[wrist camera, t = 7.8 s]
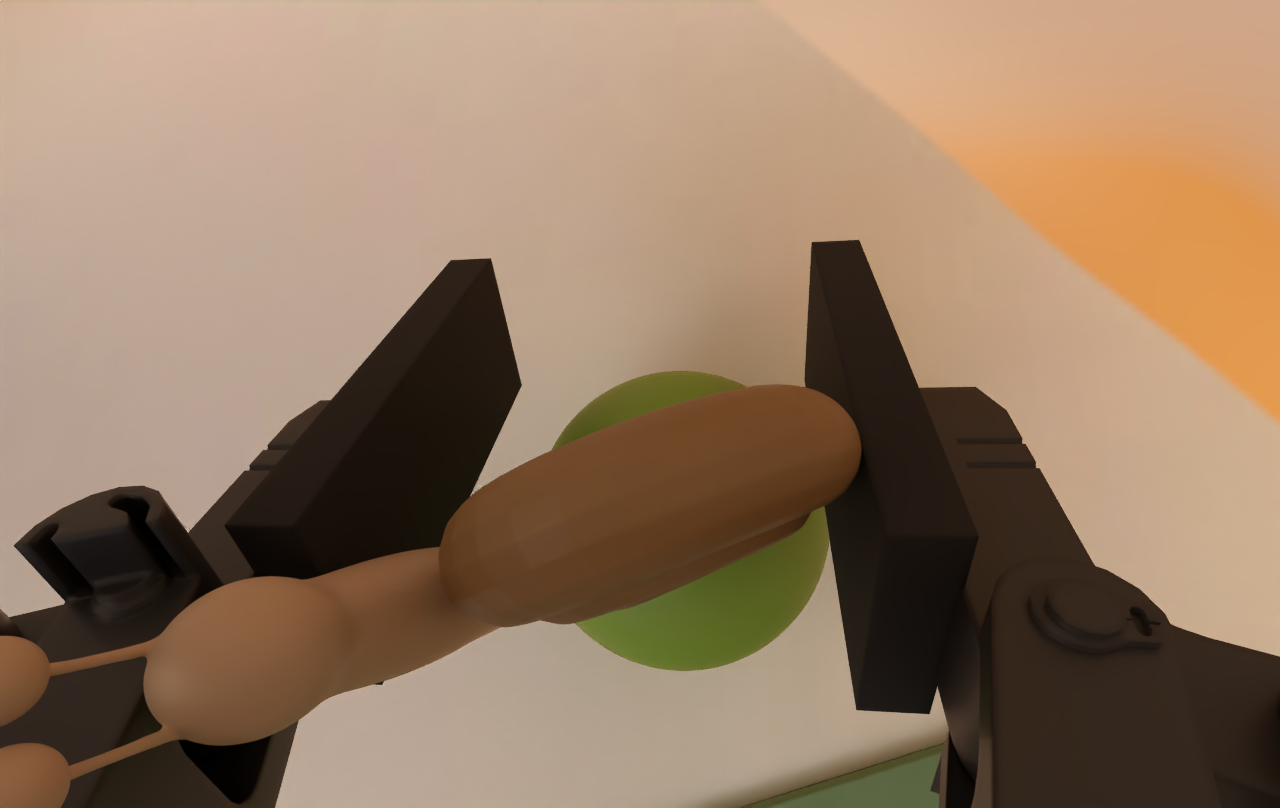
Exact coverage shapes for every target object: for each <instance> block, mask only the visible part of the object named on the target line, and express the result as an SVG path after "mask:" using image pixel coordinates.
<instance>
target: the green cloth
mask: <svg viewBox="0 0 1280 808" xmlns="http://www.w3.org/2000/svg"><path fill="white" fill-rule="evenodd" d="M944 744H945V743H944ZM944 744H941V745H938V746H935V747H932V748H928V749H925V750H922V751H919V752H916V753H913V754H909V755H906V756H903V757H900V758H897V759H894V760H890V761H887V762H884V763H881V764H878V765H875V766H872V767H868V768H865V769H862V770H859V771H856V772H853V773H849V774H846V775H843V776H840V777H837V778H834V779H830V780H827V781H824V782H821V783H818V784H815V785H812V786H808V787H805V788H802V789H799V790H796V791H793V792H789V793H786V794H783V795H780V796H777V797H774V798H770V799H767V800H764V801H761V802H758V803H755V804H752V805H748V806H745V807H742V808H939V794H938V793H935V792H932V791H930V789H931V786H932V783H933V779H934V776H935V773H936V770H937V766H938V763H939V760H940V757H941V754H942V751H943V748H944Z"/></svg>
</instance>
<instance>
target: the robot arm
mask: <svg viewBox="0 0 1280 808" xmlns="http://www.w3.org/2000/svg"><path fill="white" fill-rule="evenodd" d="M521 386H522V384H521V380H520V376H519V372H518V368H517V364H516V360H515V356H514V351H513V347H512V343H511V339H510V335H509V331H508V327H507V323H506V318H505V314H504V310H503V306H502V302H501V298H500V294H499V290H498V285H497V281H496V277H495V273H494V269H493V265H492V261H491V258H489V259H469V260H451V261H450V262H449V263H448V264H447V266H446V267H445V268H444V269H443V270H442V271H441V273H440V274H439V275H438V276H437V277H436V278H435V280H434V281H433V282H432V283H431V284H430V285H429V287H428V288H427V289H426V290H425V291H424V292H423V294H422V295H421V296H420V297H419V298H418V299H417V301H416V302H415V303H414V304H413V305H412V306H411V308H410V309H409V310H408V311H407V312H406V313H405V315H404V316H403V317H402V318H401V319H400V320H399V322H398V323H397V324H396V325H395V326H394V327H393V329H392V330H391V331H390V332H389V333H388V334H387V336H386V337H385V338H384V339H383V340H382V341H381V343H380V344H379V345H378V346H377V347H376V348H375V350H374V351H373V352H372V353H371V354H370V355H369V357H368V358H367V359H366V360H365V361H364V362H363V364H362V365H361V366H360V367H359V368H358V369H357V371H356V372H355V373H354V374H353V375H352V376H351V378H350V379H349V380H348V381H347V382H346V383H345V385H344V386H343V387H342V388H341V389H340V390H339V392H338V393H337V394H336V395H335V396H334V397H333V399H332V400H324V401H319V402H318V403H316V404H315V405H313V406H312V407H310V408H309V409H307V410H306V411H304V412H303V413H301V414H300V415H298V416H297V417H295V418H294V419H292V420H291V421H289V422H288V423H287V424H286V425H285V427H284V428H283V429H282V430H281V431H280V432H279V433H278V434H277V435H276V437H275V438H274V439H273V440H272V441H271V442H270V443H269V444H268V445H267V446H268V450H263V451H262V452H261V453H260V454H259V455H258V456H257V458H256V459H255V460H254V461H253V462H252V463H251V464H250V465H249V466H250V470H249V471H244V472H243V473H242V474H241V475H240V476H239V477H238V478H237V480H236V481H235V482H234V483H233V484H232V485H231V486H230V487H229V488H228V490H227V491H226V492H225V493H224V494H223V495H222V496H221V497H220V498H219V499H218V501H217V502H216V503H215V504H214V505H213V506H212V507H211V508H210V509H209V511H208V512H207V513H206V514H205V515H204V516H203V517H202V518H201V519H200V520H199V522H198V523H197V524H196V525H195V526H194V527H193V528H192V529H191V530H190V532H189V533H187V531H186V530H185V528H184V527H183V525H182V524H181V523H180V521H179V520H178V518H177V517H176V515H175V514H174V513H173V511H172V510H171V508H170V507H169V505H168V504H167V503H166V501H165V500H164V498H163V497H162V495H161V494H160V493H159V491H157V490H154V489H151V488H148V487H145V486H131V487H118V488H115V489H111V490H108V491H104V492H100V493H97V494H93V495H90V496H88V497H86V498H84V499H82V500H79V501H77V502H75V503H73V504H71V505H68V506H66V507H64V508H62V509H60V510H59V511H57V512H56V513H54V514H53V515H51V516H50V517H48V518H46V519H45V520H43V521H42V522H40V523H39V524H37V525H36V526H34V527H33V528H32V529H31V530H30V531H29V532H28V533H27V534H26V535H25V536H24V537H22V538H21V539H20V540H19V541H18V542H17V543H16V544H15V545H14V547H15V548H16V549H17V550H18V551H19V552H20V553H21V554H22V555H23V556H24V557H25V558H26V560H27V561H28V562H29V563H30V564H31V565H32V566H33V567H34V568H35V569H36V570H37V571H38V572H39V574H40V575H41V576H42V577H43V578H44V579H45V580H46V581H47V582H48V583H49V584H50V585H51V586H52V588H53V589H54V590H55V591H56V592H57V593H58V594H59V595H60V596H61V597H62V598H63V599H64V600H65V603H64V605H60V606H56V607H52V608H47V609H43V610H39V611H34V612H30V613H26V614H22V615H17V616H13V617H8V616H7V615H6V614H5V613H4V612H3V611H2V610H1V609H0V636H15V637H20V638H24V639H27V640H29V641H31V642H33V643H35V644H36V645H38V646H39V647H40V648H41V649H42V650H43V651H44V653H45V654H46V656H47V658H48V660H49V664H50V663H55V662H62V661H68V660H73V659H79V658H83V657H88V656H92V655H96V654H101V653H105V652H110V651H114V650H118V649H122V648H126V647H130V646H133V645H137V644H141V643H145V642H147V641H150V640H152V639H154V638H156V637H158V636H159V635H160V634H161V633H162V632H163V631H164V630H165V629H166V628H167V626H168V625H169V624H170V623H171V622H172V621H173V619H174V618H175V617H176V616H177V615H179V614H180V613H181V612H182V611H183V610H184V609H185V608H186V607H188V606H189V605H190V604H192V603H193V602H194V601H196V600H197V599H199V598H201V597H202V596H204V595H206V594H207V593H209V592H211V591H213V590H215V589H217V588H220V587H222V586H224V585H227V584H230V583H233V582H236V581H240V580H244V579H249V578H255V577H266V576H279V577H289V578H295V579H300V580H305V579H311V578H315V577H318V576H321V575H324V574H327V573H330V572H333V571H336V570H339V569H342V568H345V567H348V566H351V565H355V564H358V563H361V562H364V561H368V560H372V559H375V558H379V557H383V556H387V555H392V554H396V553H401V552H406V551H411V550H418V549H425V548H434V547H440V545H441V541H442V538H443V535H444V531H445V528H446V525H447V523H448V522H449V520H450V519H451V517H452V516H453V515H454V514H455V512H456V511H457V510H458V509H459V508H460V506H461V505H462V504H463V503H464V502H465V501H466V500H467V499H468V498H469V497H470V495H471V493H472V491H473V489H474V487H475V484H476V482H477V480H478V478H479V476H480V474H481V471H482V469H483V467H484V465H485V463H486V461H487V459H488V456H489V454H490V452H491V450H492V448H493V446H494V444H495V441H496V439H497V437H498V435H499V433H500V431H501V429H502V426H503V424H504V422H505V420H506V418H507V416H508V414H509V411H510V409H511V407H512V405H513V403H514V401H515V399H516V396H517V394H518V392H519V390H520V388H521ZM805 386H806V388H810V389H813V390H816V391H819V392H821V393H823V394H825V395H826V396H828V397H830V398H831V399H833V400H834V401H836V402H837V403H838V404H839V405H840V406H841V407H842V408H843V409H844V410H845V411H846V412H847V413H848V414H849V416H850V417H851V418H852V420H853V421H854V423H855V425H856V427H857V430H858V433H859V437H860V441H861V448H862V451H861V460H860V465H859V469H858V472H857V474H856V476H855V478H854V480H853V481H852V483H851V485H850V486H849V488H848V489H847V490H846V491H845V492H844V493H843V494H842V495H841V496H839V497H838V498H837V499H835V500H834V501H832V502H831V503H829V504H827V505H825V506H824V507H825V513H826V519H827V526H828V532H829V539H830V545H831V551H832V558H833V564H834V570H835V577H836V583H837V590H838V596H839V602H840V609H841V615H842V621H843V628H844V634H845V640H846V647H847V653H848V660H849V666H850V672H851V679H852V685H853V691H854V698H855V704H856V710H864V711H882V712H901V713H919V714H930V711H931V707H932V704H933V700H934V696H935V693H936V689H937V686H938V690H939V694H940V697H941V701H942V705H943V708H944V712H945V716H946V720H947V723H948V727H949V732H948V735H947V738H946V741H945V744H944V748H943V751H942V754H941V757H940V760H939V763H938V766H937V770H936V773H935V776H934V779H933V783H932V786H931V789H930V791H932V792H935V793H938V794H939V808H1280V657H1279V656H1275V655H1271V654H1267V653H1264V652H1260V651H1256V650H1252V649H1249V648H1245V647H1241V646H1237V645H1234V644H1230V643H1226V642H1222V641H1219V640H1215V639H1211V638H1207V637H1204V636H1201V635H1199V634H1196V633H1193V632H1190V631H1187V630H1184V629H1181V628H1178V627H1176V626H1173V625H1171V624H1170V623H1169V621H1168V619H1167V617H1166V615H1165V613H1164V612H1163V611H1162V610H1161V609H1160V608H1159V607H1158V606H1156V605H1155V604H1154V603H1153V602H1152V601H1151V600H1150V599H1149V598H1148V597H1147V596H1146V595H1145V594H1144V593H1143V592H1142V591H1141V590H1140V589H1139V588H1137V587H1135V586H1133V585H1132V584H1130V583H1128V582H1127V581H1125V580H1123V579H1121V578H1120V577H1118V576H1116V575H1114V574H1113V573H1111V572H1109V571H1108V570H1105V569H1102V568H1099V567H1096V566H1095V565H1094V563H1093V562H1092V560H1091V558H1090V557H1089V555H1088V553H1087V551H1086V550H1085V548H1084V546H1083V544H1082V543H1081V541H1080V539H1079V537H1078V536H1077V534H1076V532H1075V530H1074V529H1073V527H1072V525H1071V523H1070V521H1069V520H1068V518H1067V516H1066V514H1065V513H1064V511H1063V509H1062V507H1061V506H1060V504H1059V502H1058V500H1057V499H1056V497H1055V495H1054V493H1053V492H1052V490H1051V488H1050V486H1049V484H1048V483H1047V481H1046V479H1045V477H1044V476H1043V474H1042V472H1041V470H1040V469H1039V468H1036V465H1035V464H1036V462H1035V460H1034V458H1033V456H1032V455H1031V453H1030V451H1029V449H1028V447H1027V446H1026V444H1022V437H1021V435H1020V433H1019V432H1018V430H1017V428H1016V426H1015V425H1014V423H1013V421H1012V419H1011V418H1010V416H1009V414H1008V412H1007V410H1005V409H1004V408H1003V407H1001V406H1000V405H999V404H997V403H996V402H995V401H994V400H992V399H991V398H990V397H988V396H987V395H986V394H984V393H983V392H982V391H980V390H979V389H978V388H976V387H945V388H919V387H918V384H917V382H916V379H915V377H914V374H913V372H912V369H911V367H910V365H909V362H908V360H907V357H906V355H905V352H904V350H903V347H902V345H901V342H900V340H899V337H898V335H897V332H896V330H895V327H894V325H893V322H892V320H891V318H890V315H889V313H888V310H887V308H886V305H885V303H884V300H883V298H882V295H881V293H880V290H879V288H878V285H877V283H876V280H875V278H874V275H873V273H872V271H871V268H870V266H869V263H868V261H867V258H866V256H865V253H864V251H863V248H862V246H861V243H860V241H859V240H848V241H828V242H812V247H811V266H810V285H809V304H808V323H807V342H806V362H805ZM146 666H147V658H146V657H143V656H142V657H137V658H134V659H130V660H125V661H120V662H115V663H110V664H106V665H101V666H97V667H93V668H88V669H83V670H79V671H74V672H70V673H65V674H61V675H57V676H52V677H50V678H49V682H48V685H47V687H46V689H45V691H44V693H43V695H42V696H41V698H40V699H39V700H38V702H37V703H36V704H35V705H34V706H33V707H32V708H31V709H30V710H29V711H27V712H26V713H25V714H23V715H22V716H21V717H19V718H18V719H16V720H14V721H12V722H10V723H8V724H6V725H4V726H1V727H0V748H3V747H6V746H9V745H14V744H19V743H39V744H44V745H47V746H50V747H52V748H54V749H55V750H57V751H58V752H60V753H61V754H62V755H63V757H64V758H65V759H66V761H67V763H68V765H69V766H71V765H73V764H76V763H79V762H82V761H85V760H87V759H90V758H93V757H96V756H98V755H101V754H104V753H106V752H108V751H111V750H113V749H116V748H119V747H122V746H124V745H127V744H129V743H131V742H134V741H136V740H138V739H141V738H143V737H145V736H147V735H150V734H153V733H156V732H158V731H160V730H161V729H162V725H161V724H160V723H159V722H158V721H157V720H156V719H155V717H154V716H153V715H152V713H151V711H150V710H149V708H148V705H147V703H146V700H145V695H144V686H143V682H144V673H145V669H146ZM383 682H384V681H382V682H379V683H376V685H382V684H383ZM298 721H299V720H298ZM298 721H296V722H295V723H293V724H292V725H290V726H288V727H286V728H285V729H283V730H281V731H279V732H277V733H275V734H272V735H270V736H267V737H265V738H262V739H259V740H256V741H252V742H248V743H243V744H236V745H224V746H218V745H206V744H200V743H196V742H192V741H189V740H184V739H183V740H174V741H170V742H167V743H164V744H161V745H159V746H156V747H153V748H151V749H148V750H145V751H142V752H140V753H137V754H135V755H132V756H129V757H127V758H124V759H122V760H119V761H117V762H114V763H111V764H109V765H106V766H104V767H101V768H98V769H96V770H93V771H91V772H89V773H86V774H84V775H82V776H80V777H77V778H75V779H72V780H71V781H70V787H69V791H68V794H67V796H66V799H65V801H64V803H63V804H62V806H61V808H275V805H276V802H277V798H278V794H279V791H280V787H281V783H282V779H283V776H284V772H285V768H286V765H287V761H288V757H289V754H290V750H291V746H292V743H293V739H294V735H295V732H296V728H297V724H298Z"/></svg>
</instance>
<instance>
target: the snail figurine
mask: <svg viewBox="0 0 1280 808" xmlns="http://www.w3.org/2000/svg"><path fill="white" fill-rule="evenodd" d="M861 451H862V448H861V441H860V437H859V433H858V430H857V427H856V425H855V423H854V421H853V420H852V418H851V417H850V416H849V414H848V413H847V412H846V411H845V410H844V409H843V408H842V407H841V406H840V405H839V404H838V403H837V402H836V401H834V400H833V399H831V398H830V397H828V396H826V395H825V394H823V393H821V392H819V391H816V390H813V389H810V388H806V387H800V386H792V385H762V386H752V387H746V386H744V385H742V384H739V383H737V382H735V381H732V380H729V379H726V378H723V377H720V376H716V375H712V374H706V373H700V372H689V371H673V372H662V373H655V374H650V375H646V376H642V377H639V378H636V379H633V380H630V381H627V382H625V383H622V384H620V385H618V386H616V387H614V388H612V389H610V390H609V391H607V392H605V393H604V394H602V395H601V396H599V397H598V398H596V399H595V400H593V401H592V402H591V403H590V404H588V405H587V406H586V407H585V408H584V409H583V410H582V411H580V412H579V413H578V414H577V415H576V416H575V418H574V419H573V420H572V421H571V422H570V423H569V424H568V426H567V427H566V428H565V429H564V431H563V432H562V434H561V435H560V437H559V438H558V440H557V441H556V443H555V445H554V446H553V448H552V450H551V451H550V452H547V453H545V454H543V455H541V456H539V457H537V458H534V459H532V460H530V461H528V462H526V463H524V464H522V465H520V466H519V467H517V468H515V469H513V470H511V471H509V472H507V473H505V474H504V475H502V476H500V477H498V478H497V479H495V480H493V481H492V482H490V483H489V484H487V485H486V486H484V487H482V488H481V489H479V490H478V491H477V492H475V493H474V494H473V495H472V496H471V497H470V498H468V499H467V500H466V501H465V502H464V503H463V504H462V505H461V506H460V508H459V509H458V510H457V511H456V512H455V514H454V515H453V516H452V517H451V519H450V520H449V522H448V523H447V525H446V528H445V531H444V535H443V538H442V541H441V545H440V547H434V548H425V549H418V550H411V551H406V552H401V553H396V554H392V555H387V556H383V557H379V558H375V559H372V560H368V561H364V562H361V563H358V564H355V565H351V566H348V567H345V568H342V569H339V570H336V571H333V572H330V573H327V574H324V575H321V576H318V577H315V578H311V579H305V580H300V579H295V578H289V577H279V576H266V577H255V578H249V579H244V580H240V581H236V582H233V583H230V584H227V585H224V586H222V587H220V588H217V589H215V590H213V591H211V592H209V593H207V594H206V595H204V596H202V597H201V598H199V599H197V600H196V601H194V602H193V603H192V604H190V605H189V606H188V607H186V608H185V609H184V610H183V611H182V612H181V613H180V614H179V615H177V616H176V617H175V618H174V619H173V621H172V622H171V623H170V624H169V625H168V626H167V628H166V629H165V630H164V631H163V632H162V633H161V634H160V635H159V636H158V637H156V638H154V639H152V640H150V641H147V642H145V643H141V644H137V645H133V646H130V647H126V648H122V649H118V650H114V651H110V652H105V653H101V654H96V655H92V656H88V657H83V658H79V659H73V660H68V661H62V662H55V663H50V664H49V660H48V658H47V656H46V654H45V653H44V651H43V650H42V649H41V648H40V647H39V646H38V645H36V644H35V643H33V642H31V641H29V640H27V639H24V638H20V637H15V636H0V727H1V726H4V725H6V724H8V723H10V722H12V721H14V720H16V719H18V718H19V717H21V716H22V715H23V714H25V713H26V712H27V711H29V710H30V709H31V708H32V707H33V706H34V705H35V704H36V703H37V702H38V700H39V699H40V698H41V696H42V695H43V693H44V691H45V689H46V687H47V685H48V682H49V678H50V677H52V676H57V675H61V674H65V673H70V672H74V671H79V670H83V669H88V668H93V667H97V666H101V665H106V664H110V663H115V662H120V661H125V660H130V659H134V658H137V657H142V656H143V657H146V658H147V666H146V669H145V673H144V682H143V686H144V695H145V700H146V703H147V705H148V708H149V710H150V711H151V713H152V715H153V716H154V717H155V719H156V720H157V721H158V722H159V723H160V724H161V725H162V729H161V730H160V731H158V732H156V733H153V734H150V735H147V736H145V737H143V738H141V739H138V740H136V741H134V742H131V743H129V744H127V745H124V746H122V747H119V748H116V749H113V750H111V751H108V752H106V753H104V754H101V755H98V756H96V757H93V758H90V759H87V760H85V761H82V762H79V763H76V764H73V765H71V766H69V765H68V763H67V761H66V759H65V758H64V757H63V755H62V754H61V753H60V752H58V751H57V750H55V749H54V748H52V747H50V746H47V745H44V744H39V743H19V744H14V745H9V746H6V747H3V748H0V808H61V806H62V804H63V803H64V801H65V799H66V796H67V794H68V791H69V787H70V781H71V780H72V779H75V778H77V777H80V776H82V775H84V774H86V773H89V772H91V771H93V770H96V769H98V768H101V767H104V766H106V765H109V764H111V763H114V762H117V761H119V760H122V759H124V758H127V757H129V756H132V755H135V754H137V753H140V752H142V751H145V750H148V749H151V748H153V747H156V746H159V745H161V744H164V743H167V742H170V741H174V740H183V739H184V740H189V741H192V742H196V743H200V744H206V745H218V746H224V745H236V744H243V743H248V742H252V741H256V740H259V739H262V738H265V737H267V736H270V735H272V734H275V733H277V732H279V731H281V730H283V729H285V728H286V727H288V726H290V725H292V724H293V723H295V722H296V721H298V720H299V719H301V718H302V717H304V716H305V715H306V714H308V713H309V712H310V711H311V710H313V709H314V708H315V707H316V706H317V705H319V704H320V703H321V702H323V701H324V700H326V699H328V698H330V697H332V696H335V695H337V694H340V693H343V692H347V691H351V690H354V689H358V688H362V687H365V686H369V685H372V684H376V683H379V682H382V681H385V680H388V679H391V678H394V677H397V676H400V675H403V674H405V673H408V672H411V671H413V670H416V669H418V668H420V667H423V666H425V665H427V664H429V663H432V662H434V661H436V660H438V659H440V658H442V657H444V656H446V655H448V654H450V653H452V652H454V651H456V650H457V649H459V648H461V647H463V646H464V645H466V644H468V643H470V642H471V641H473V640H475V639H477V638H479V637H481V636H483V635H486V634H488V633H490V632H492V631H494V630H496V629H498V628H500V627H512V626H518V625H523V624H527V623H531V622H535V621H538V620H542V621H547V622H551V623H556V624H572V623H576V624H577V625H578V626H579V627H580V628H581V629H582V630H583V631H584V632H585V633H586V634H587V635H589V636H590V637H591V638H592V639H594V640H595V641H596V642H598V643H599V644H600V645H602V646H603V647H605V648H606V649H608V650H610V651H612V652H613V653H615V654H617V655H619V656H621V657H623V658H626V659H628V660H630V661H633V662H636V663H639V664H642V665H646V666H649V667H654V668H659V669H666V670H678V671H691V670H703V669H709V668H714V667H719V666H722V665H726V664H729V663H732V662H735V661H737V660H740V659H742V658H744V657H747V656H749V655H751V654H753V653H754V652H756V651H758V650H760V649H761V648H763V647H764V646H766V645H767V644H769V643H770V642H771V641H773V640H774V639H775V638H776V637H778V636H779V635H780V634H781V633H782V632H783V631H784V630H785V629H786V628H787V627H788V626H789V625H790V624H791V623H792V622H793V621H794V620H795V619H796V617H797V616H798V615H799V614H800V612H801V611H802V610H803V608H804V607H805V605H806V604H807V602H808V600H809V599H810V597H811V595H812V593H813V591H814V590H815V588H816V585H817V583H818V581H819V578H820V576H821V573H822V570H823V567H824V564H825V560H826V556H827V551H828V545H829V532H828V526H827V519H826V513H825V507H824V506H825V505H827V504H829V503H831V502H832V501H834V500H835V499H837V498H838V497H839V496H841V495H842V494H843V493H844V492H845V491H846V490H847V489H848V488H849V486H850V485H851V483H852V481H853V480H854V478H855V476H856V474H857V472H858V469H859V465H860V460H861Z"/></svg>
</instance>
